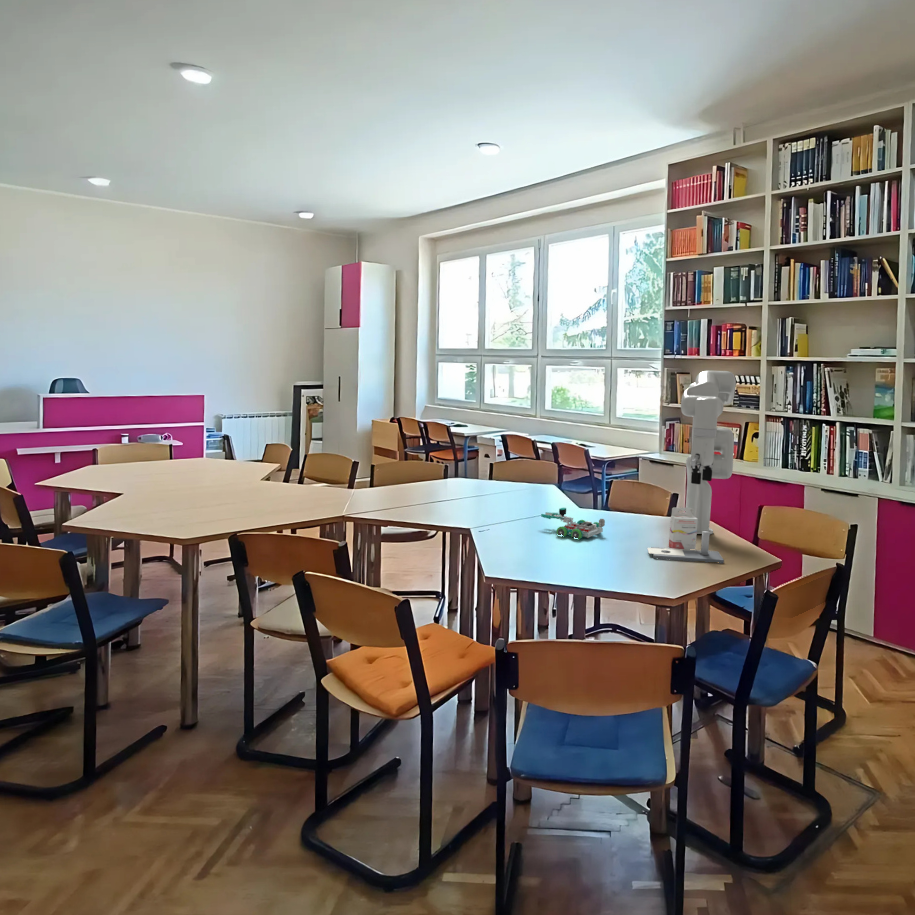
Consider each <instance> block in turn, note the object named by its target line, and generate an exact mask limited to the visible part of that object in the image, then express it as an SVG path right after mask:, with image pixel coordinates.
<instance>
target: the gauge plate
mask: <svg viewBox="0 0 915 915" xmlns="http://www.w3.org/2000/svg"><path fill="white" fill-rule="evenodd" d="M710 535H711V534H710V532H708V531H702V535H701V544H700V546H701V547H700V549H695V550H690V549H675V548H670V547H657V546H651V547H647V548H646V549H647V551H648V554H649V555H651V554H653V555H652V558H653V559H654V558H658V559H657V560H665V559H668V560H669V559H670V560H669V561H679V560H683V562H694V561H705V562H704V563H708V562H719V563H718V564H723V563H725V559H724V557H723V556H722V555H721V554H720V552H719V551H718V550H716V551H715V550H709V544H710ZM668 560H667V561H668Z"/></svg>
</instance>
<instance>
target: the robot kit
mask: <svg viewBox="0 0 915 915" xmlns="http://www.w3.org/2000/svg"><path fill="white" fill-rule="evenodd" d="M566 514H567V507H560V508H559V509H558V512H550V511H549V512H548V511H547V512H545V514H544V513H541V514H540V516H541V517H542V518H544V519H547V520H551V519H557V520H560V522H563V523H566V524H565V525H563V526H558V527H557V529H556V535H557V534H558V535H561V534H562V535H563V536H565V537H567V536H569V537H571V538H572V537H573V538H574V537H575V538H578V539H580V538H581V539H582V538H583V537H585V538H587V539H589V538H590V537H594V536H596V535H598V534H601V533H603V531H604V529H603V528H604V527H605V523H606V521H605V519H604V518H600V519H599V520H598V522H597V521H594V522H593V523H592V521H588V520H587V521H586V520H584V519H580V520H578V521H577V522H576V521H574V517H571V516H566ZM558 535H557V536H558ZM566 535H567V536H566ZM573 538H572V539H573ZM581 539H580V540H581Z"/></svg>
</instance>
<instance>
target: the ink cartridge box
mask: <svg viewBox="0 0 915 915" xmlns="http://www.w3.org/2000/svg"><path fill="white" fill-rule="evenodd" d="M682 511H683V512H682ZM685 511H687V512H686V513H685ZM693 512H694V508H686V507H672V508H671V516H670V523H669V524H670V525H669V537H668V548H675V549H695V550H696V544H697V536H698V535H697V523H698V519H697V518H696V517H694V516H693Z"/></svg>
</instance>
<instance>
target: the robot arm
mask: <svg viewBox="0 0 915 915" xmlns="http://www.w3.org/2000/svg"><path fill="white" fill-rule="evenodd" d="M736 386H737V381H736V377H735V375H734V373H733V372H732V371H728V370H704V371H701V372H699V373H698V374H697V375H696V376H695V382H693V383H690V384H689V386H688V388H687V389H685V390H684V391H683V394H682V395H681V400H680V401H681V402H680V411H681V413H682V415H684V416H686V417H690V418H691V417H692V424H691V425H692V428H691V450H690V455H688V456H687V457H686V462H685V464H686V465H685V467H686V496H685V508H694V512H693V516H694V517H696V518H697V519H698V523H697V534H702V531H708V532H710V534H709V535H712V534H713V533H714V530H713V529H712V528H711V527H710V521H711V510H712V509H711V506H712V496H713V494H712V492H713V490H712V486H711V485H710V483H709V482H712V479H717V480H718V479H720V480H721V479H722V480H727V479H729V478H731V476H732V475H733V472H734V471H733V469H734V449H735V437H734V432H733V430H731V429H730V428H727V427H726V428H725V427H718V426H717V425H718V417H720V415H721V414H723V412H724V405H729V404H731V403H732V402H733V401H734V398H735V392H736ZM715 452H717V453H720V454H715ZM686 512H687V511H684V513H686Z"/></svg>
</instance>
